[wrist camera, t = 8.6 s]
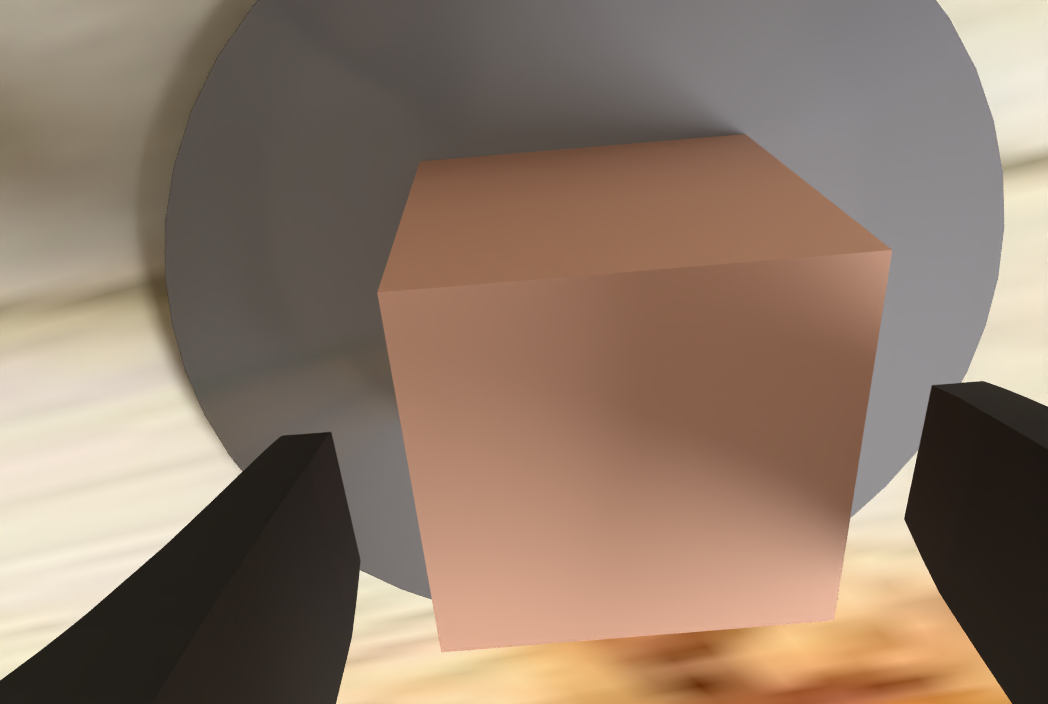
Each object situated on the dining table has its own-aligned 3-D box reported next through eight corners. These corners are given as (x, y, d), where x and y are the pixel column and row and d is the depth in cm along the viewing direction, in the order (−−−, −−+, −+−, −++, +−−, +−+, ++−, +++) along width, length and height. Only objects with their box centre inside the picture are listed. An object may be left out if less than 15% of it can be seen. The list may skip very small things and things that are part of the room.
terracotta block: (745, 133, 12) (892, 250, 8) (728, 409, 14) (833, 620, 10) (419, 160, 12) (377, 292, 8) (457, 431, 14) (441, 652, 10)
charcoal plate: (1100, -142, 11) (1142, -148, 10) (874, 587, 18) (890, 615, 17) (93, -169, 11) (63, -177, 10) (246, 596, 17) (236, 624, 16)
